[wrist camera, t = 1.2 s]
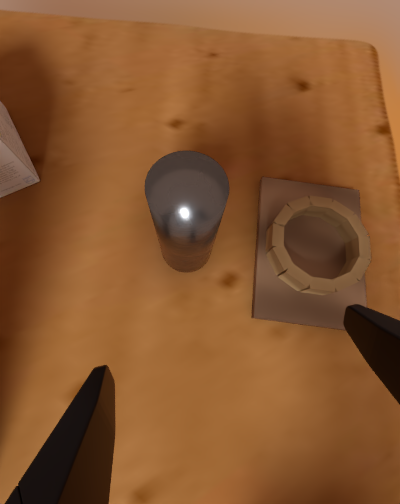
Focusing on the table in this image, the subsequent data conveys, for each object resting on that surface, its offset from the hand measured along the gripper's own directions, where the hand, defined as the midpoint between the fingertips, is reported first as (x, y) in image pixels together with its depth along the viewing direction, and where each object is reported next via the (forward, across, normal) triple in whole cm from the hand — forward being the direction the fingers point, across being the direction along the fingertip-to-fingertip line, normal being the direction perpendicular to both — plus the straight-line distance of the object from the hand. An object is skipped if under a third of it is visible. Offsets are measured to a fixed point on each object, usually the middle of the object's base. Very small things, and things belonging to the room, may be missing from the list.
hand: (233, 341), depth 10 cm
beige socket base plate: (+14, -11, +6) cm, 19 cm away
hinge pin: (+15, 0, +4) cm, 16 cm away
